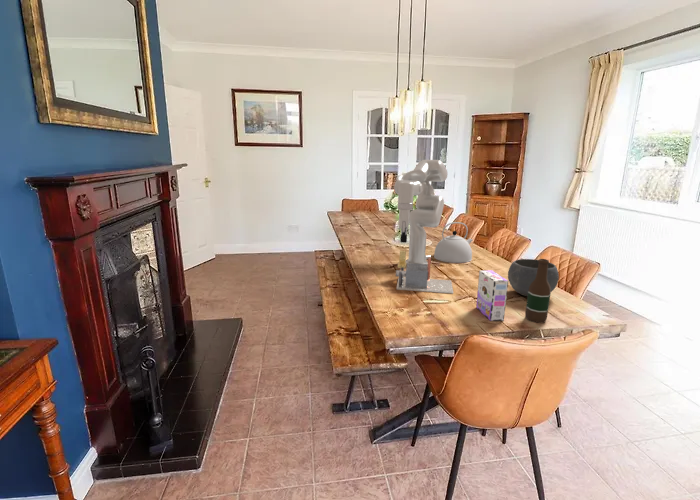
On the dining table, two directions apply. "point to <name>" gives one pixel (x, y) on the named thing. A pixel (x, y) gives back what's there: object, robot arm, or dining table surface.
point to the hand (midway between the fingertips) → (403, 242)
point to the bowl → (529, 275)
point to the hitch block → (422, 280)
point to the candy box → (492, 295)
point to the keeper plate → (402, 260)
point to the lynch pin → (405, 271)
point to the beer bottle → (539, 295)
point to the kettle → (454, 248)
